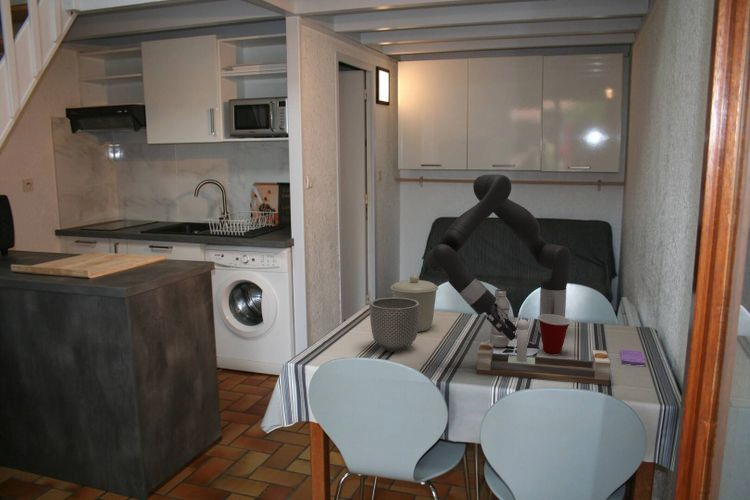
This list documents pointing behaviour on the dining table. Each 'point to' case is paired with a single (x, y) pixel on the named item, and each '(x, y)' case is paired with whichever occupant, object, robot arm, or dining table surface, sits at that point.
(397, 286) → the canister
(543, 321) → the plastic cup
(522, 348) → the carriage
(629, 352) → the sponges
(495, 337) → the plastic bottle
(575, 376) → the rail track
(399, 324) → the planter
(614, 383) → the dining table surface
